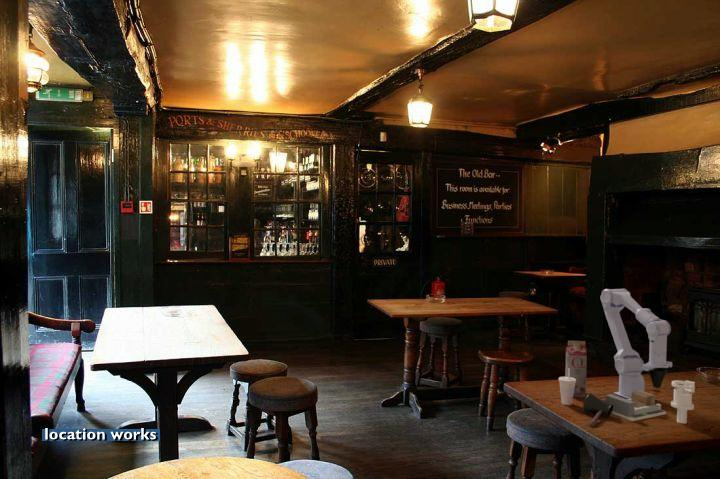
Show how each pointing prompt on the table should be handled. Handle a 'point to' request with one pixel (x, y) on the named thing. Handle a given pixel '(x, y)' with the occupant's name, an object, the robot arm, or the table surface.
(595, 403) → the coffee pot
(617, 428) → the table surface
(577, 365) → the juice carton
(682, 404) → the white stepped post
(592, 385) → the table surface
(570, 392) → the smoothie
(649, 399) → the gauge slider
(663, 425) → the table surface
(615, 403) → the gauge base
